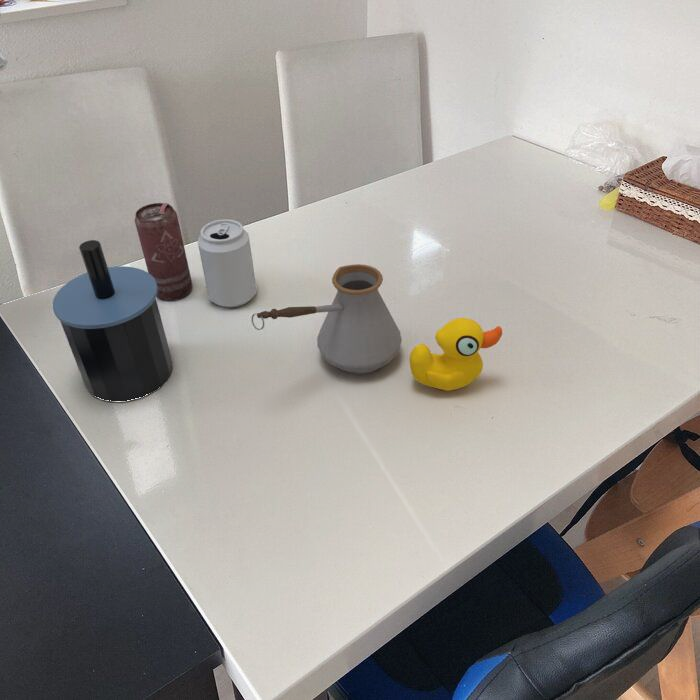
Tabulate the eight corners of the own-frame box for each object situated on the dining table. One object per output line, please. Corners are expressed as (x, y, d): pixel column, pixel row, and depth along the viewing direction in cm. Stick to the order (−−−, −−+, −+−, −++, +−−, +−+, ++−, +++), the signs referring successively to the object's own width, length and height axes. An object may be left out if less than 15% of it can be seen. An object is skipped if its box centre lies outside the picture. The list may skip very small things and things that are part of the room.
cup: (92, 413, 87) (62, 337, 79) (80, 360, 95) (52, 286, 87) (181, 386, 90) (161, 310, 82) (162, 337, 98) (143, 264, 90)
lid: (61, 344, 79) (37, 286, 74) (50, 288, 88) (29, 233, 82) (168, 315, 82) (153, 257, 77) (148, 264, 91) (133, 210, 86)
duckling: (490, 366, 91) (498, 306, 85) (499, 394, 87) (508, 333, 81) (406, 372, 91) (408, 312, 85) (411, 399, 87) (413, 339, 80)
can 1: (200, 281, 109) (183, 202, 100) (182, 304, 105) (163, 223, 96) (165, 276, 111) (146, 198, 102) (147, 298, 106) (125, 219, 97)
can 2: (201, 307, 104) (186, 239, 96) (220, 280, 109) (207, 213, 102) (247, 313, 102) (236, 244, 94) (264, 285, 108) (254, 218, 100)
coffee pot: (362, 319, 100) (360, 230, 90) (418, 356, 93) (422, 264, 84) (242, 387, 90) (225, 294, 80) (295, 434, 83) (283, 338, 73)
